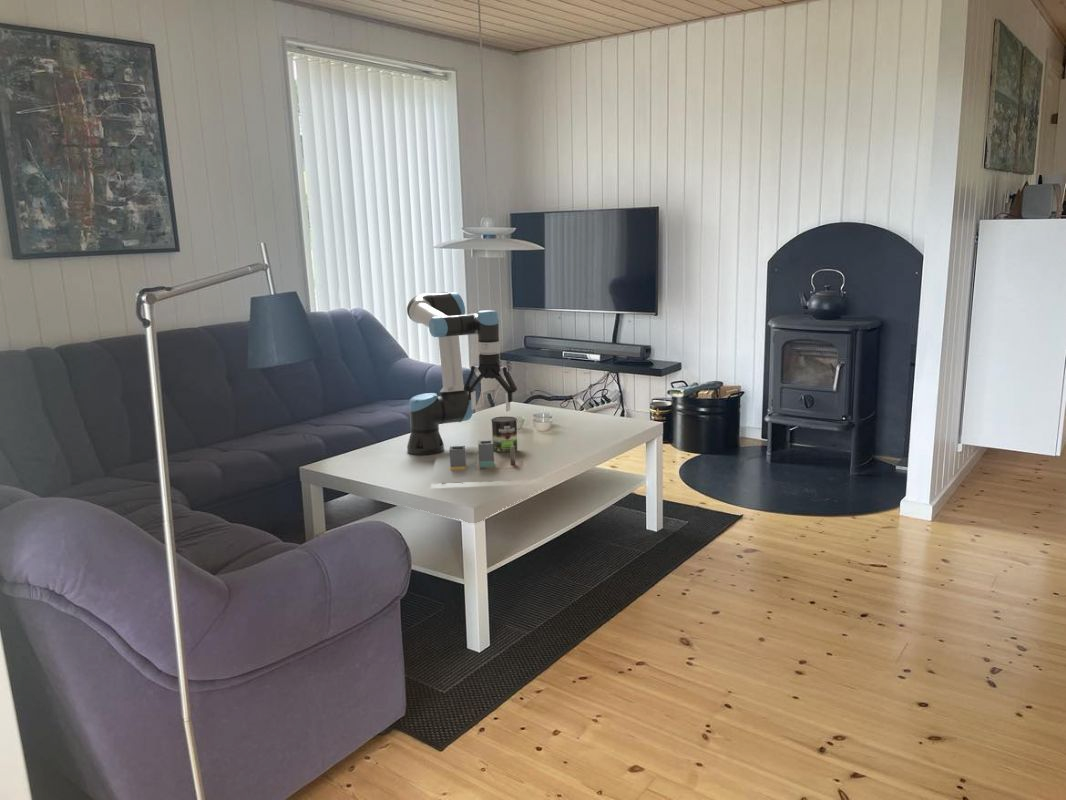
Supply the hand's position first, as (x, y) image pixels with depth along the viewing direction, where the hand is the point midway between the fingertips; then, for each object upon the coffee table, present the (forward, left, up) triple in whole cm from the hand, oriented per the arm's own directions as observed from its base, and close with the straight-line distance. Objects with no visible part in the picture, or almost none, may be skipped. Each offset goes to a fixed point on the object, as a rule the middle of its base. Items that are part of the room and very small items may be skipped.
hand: (490, 409), depth 302 cm
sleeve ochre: (-8, -11, -23) cm, 27 cm away
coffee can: (-20, +17, -24) cm, 35 cm away
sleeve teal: (-3, -1, -22) cm, 22 cm away
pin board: (-1, +3, -23) cm, 24 cm away
